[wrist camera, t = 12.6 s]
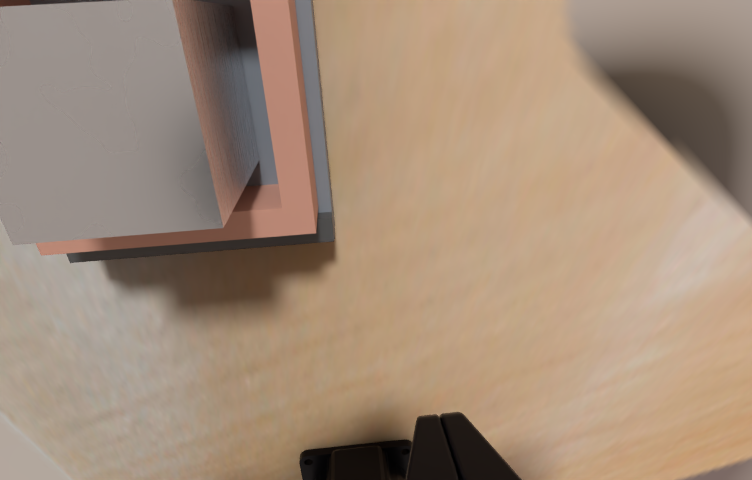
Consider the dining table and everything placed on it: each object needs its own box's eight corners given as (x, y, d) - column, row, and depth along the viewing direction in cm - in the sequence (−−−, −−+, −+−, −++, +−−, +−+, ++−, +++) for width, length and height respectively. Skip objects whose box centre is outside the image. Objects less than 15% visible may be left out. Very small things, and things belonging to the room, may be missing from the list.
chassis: (334, 223, 19) (334, 270, 16) (98, 242, 19) (43, 295, 15) (300, -124, 14) (288, -172, 10) (-33, -111, 13) (-165, -158, 10)
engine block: (259, 159, 16) (223, 227, 11) (119, 169, 16) (12, 244, 11) (232, 5, 14) (171, -3, 9) (69, 14, 14) (-97, 12, 8)
